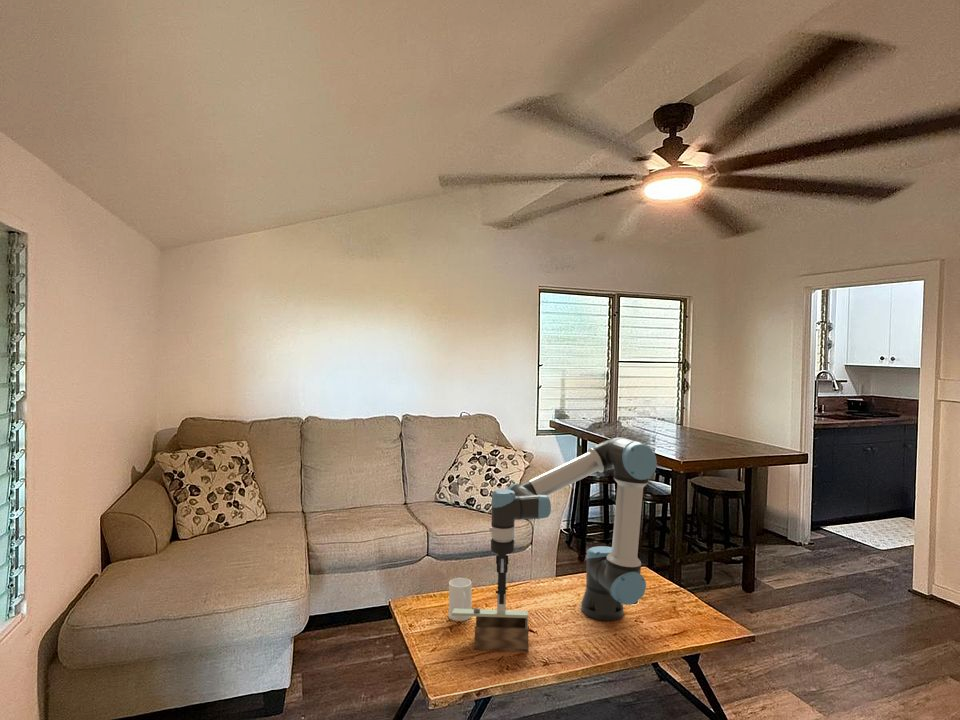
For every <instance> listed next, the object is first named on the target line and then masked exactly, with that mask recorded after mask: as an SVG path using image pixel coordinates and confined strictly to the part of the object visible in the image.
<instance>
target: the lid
mask: <svg viewBox="0 0 960 720" xmlns="http://www.w3.org/2000/svg"><path fill="white" fill-rule="evenodd" d="M528 612H529V611H528V610H524V609H523V610H520V609H519V610H518V609H516V610H515V609H506V611H505V613H497V609H490V608H489V609H488V608H487V609H484V608H482V609H481V608H478V607H477V608H475V607H474V608H471V609H457V608H454V610H453V612H452V616H471V617H475V618H476V617H510V618H527V619H529V613H528Z"/></svg>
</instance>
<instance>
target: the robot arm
mask: <svg viewBox="0 0 960 720" xmlns="http://www.w3.org/2000/svg"><path fill="white" fill-rule="evenodd" d="M587 449H588V450H587V452H585V453H583V454H581V455H579V456H577V457H575V458H573V459H571V460H568V461H567V462H565V463H562V464H561V465H558V466H556V467H554V468H553V469H550V470H548V471H546V472H544V473H542V474H539V475H538V476H535V477H533V478H531V479H530V480H527V481H526V482H523V483H517V482H516V483H512V484H510V485H509V486H508V487H507V488H499V489H496V490H494V491H493V492H492V494H491V503H490V506H491V507H490V508H491V516H490V517H491V522H490V523H491V524H490V525H491V527H489V528H488V531H490V537H491V539H490V551H491V552H492V553H494V554H495V564H496V572H497V590H495V594H496V598H497V599H496V610H497V613H505V611H506V610H507V607H506V603H507V602H506V601H507V600H506V599H507V594H506V593H507V591H508V589H509V588H508V586H507V583H506V582H507V573H508V564H509V555H510V554H512V553H513V552H514V551H515V540H514V539H515V526H516V525H515V521H523V520H541V519H546V518H548V517H550V515H551V512H552V503H551V499H550V497H549V495H551V494H554V493H556V492H558V491H559V490H560V491H561V490H562V489H564V488H566V487H568V486H571V485H572V484H574V483H576V482H578V481H581V480H583V479H584V478H587V477H588V476H590V475H594V474H595V473H597V472H598V473H605V471H609V470H614V471H613V480H614V481H615V482H616V483H617V485H616V487H617V488H616V497H615V498H616V499H615V506H614V507H615V508H614V510H615V511H614V519H613V520H614V522H613V531H612V532H613V533H612V543H611V546H605V545H603V546H602V545H599V546H598V545H597V546H593V547H590V548H588V549H587V550H586V557H585V558H586V570H585V571H586V572H585V573H586V588H585V590H584V594H583V597H582V599H581V602H580V603H581V606H580V608H581V609H580V610H581V612H582V613H583V614H584V615H585V616H587V617H588V618H591V619H594V620H598V621H604V622H605V621H606V622H609V621H610V622H611V621H616V620H618V619H621V618H622V617H623V616H624V609H625V608H624V605H625V606H628V605H629V606H630V605H633V604H635V603H637V602H639V600H640V599H642V598H643V596H644V595H645V593H646V589H647V583H646V582H647V581H646V579H645V578H644V576H643V575H642V574H641V571H642V562H641V560H640V559H639V558H638V553H639V551H638V550H639V543H640V542H639V541H640V531H641V516H642V509H643V508H642V506H643V497H644V496H643V495H644V488H645V487H646V486H647V485H648V484H649V480H650V478H651V477H652V476H653V475H654V474H655V472H656V469H657V464H658V461H657V457H656V454H655V452H654V450H653V449H652V448H651V447H649V446H648V445H647V444H645V443H642V442H640V441H637V440H633V439H629V438H625V437H621V436H620V437H612V438H609V439H607V440H603V441H602V442H600V443H598V444H595V445H592V447H589V448H587ZM508 554H509V555H508Z"/></svg>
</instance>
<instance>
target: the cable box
mask: <svg viewBox="0 0 960 720" xmlns="http://www.w3.org/2000/svg"><path fill="white" fill-rule="evenodd" d="M528 619H529V618H510V617H476V616H475V626H474V650H475V651H495V652H497V651H498V652H500V651H501V652H505V651H506V652H529V621H528Z"/></svg>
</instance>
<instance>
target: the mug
mask: <svg viewBox="0 0 960 720" xmlns="http://www.w3.org/2000/svg"><path fill="white" fill-rule="evenodd" d="M454 608H457V609H472V581H471V580H470V579H469V578H466V577H455V578H452V579H450V580H449V583H448V613H447V616H448V618H449V619H450V620H451V621H455V622H464V621H468V620H469V619H471V618H472V616H452V612H453V610H454Z"/></svg>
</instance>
